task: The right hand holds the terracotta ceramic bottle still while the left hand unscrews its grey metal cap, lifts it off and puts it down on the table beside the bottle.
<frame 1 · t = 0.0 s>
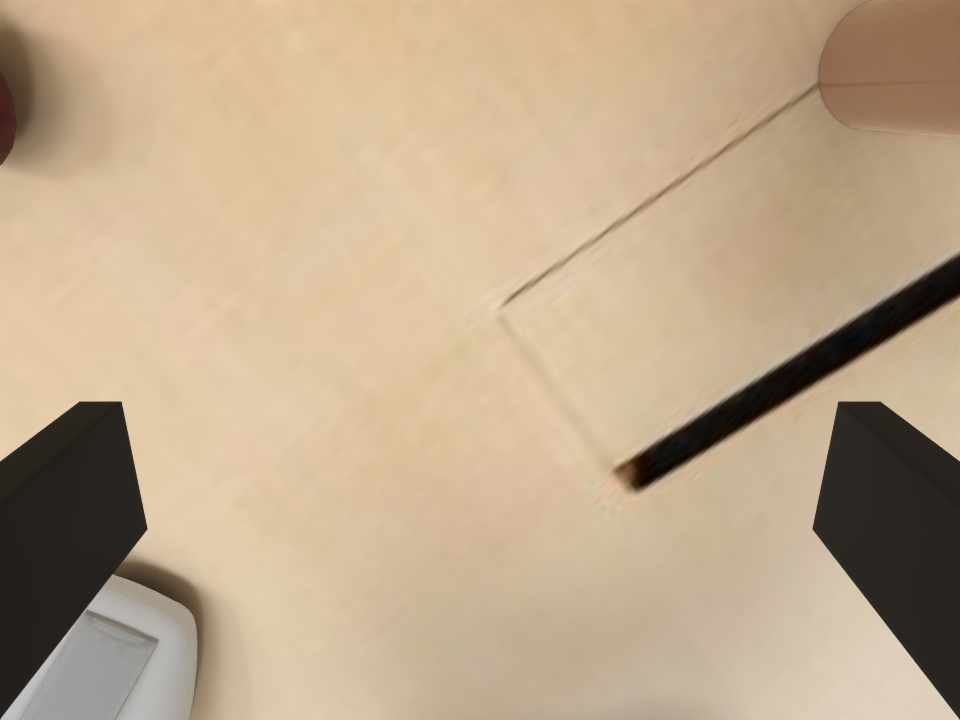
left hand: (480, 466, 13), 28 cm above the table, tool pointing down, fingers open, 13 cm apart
projector: (96, 681, 51), on the table
bottle: (880, 65, 36), on the table
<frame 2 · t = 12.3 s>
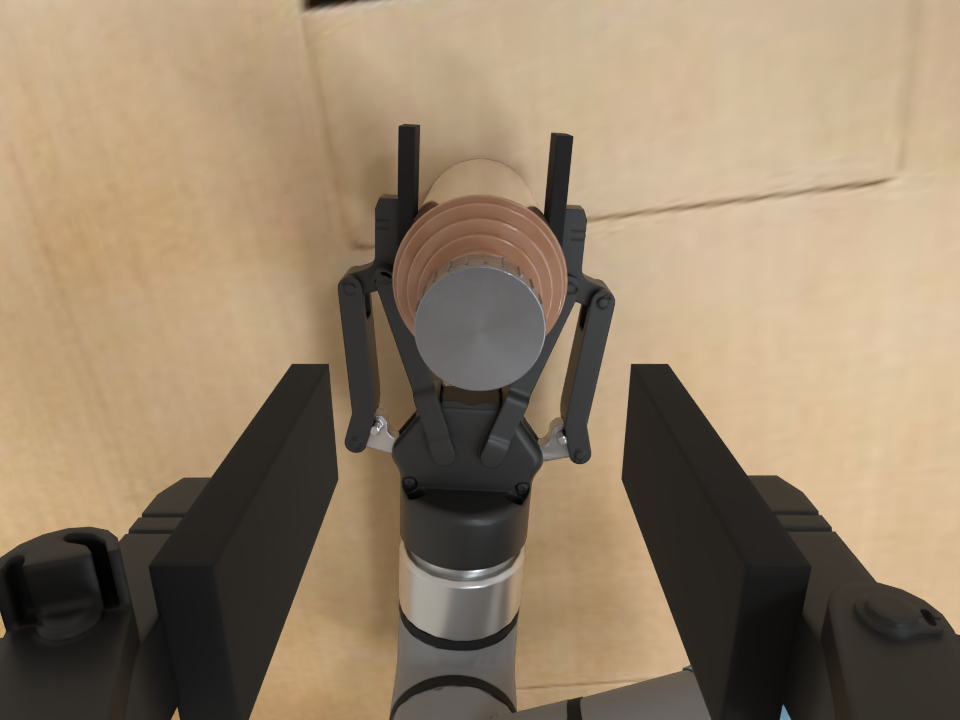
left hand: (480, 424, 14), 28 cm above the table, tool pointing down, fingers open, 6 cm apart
right hand: (485, 130, 33), fingers closed on bottle, 6 cm apart
cap: (479, 327, 21), point 21 cm above the table, screwed on, not yet turned
bottle: (479, 216, 40), on the table, touching right hand
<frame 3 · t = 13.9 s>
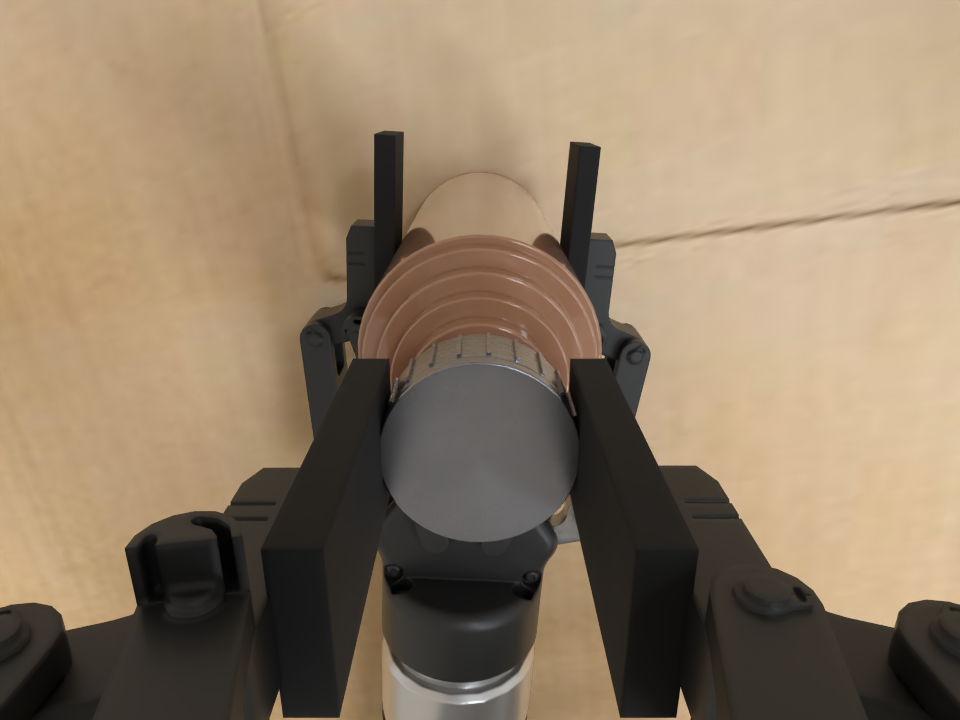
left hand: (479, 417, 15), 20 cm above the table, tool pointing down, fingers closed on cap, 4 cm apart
right hand: (487, 139, 25), fingers closed on bottle, 6 cm apart
cap: (479, 450, 13), point 21 cm above the table, screwed on, not yet turned, touching left hand
bottle: (479, 241, 33), on the table, touching right hand
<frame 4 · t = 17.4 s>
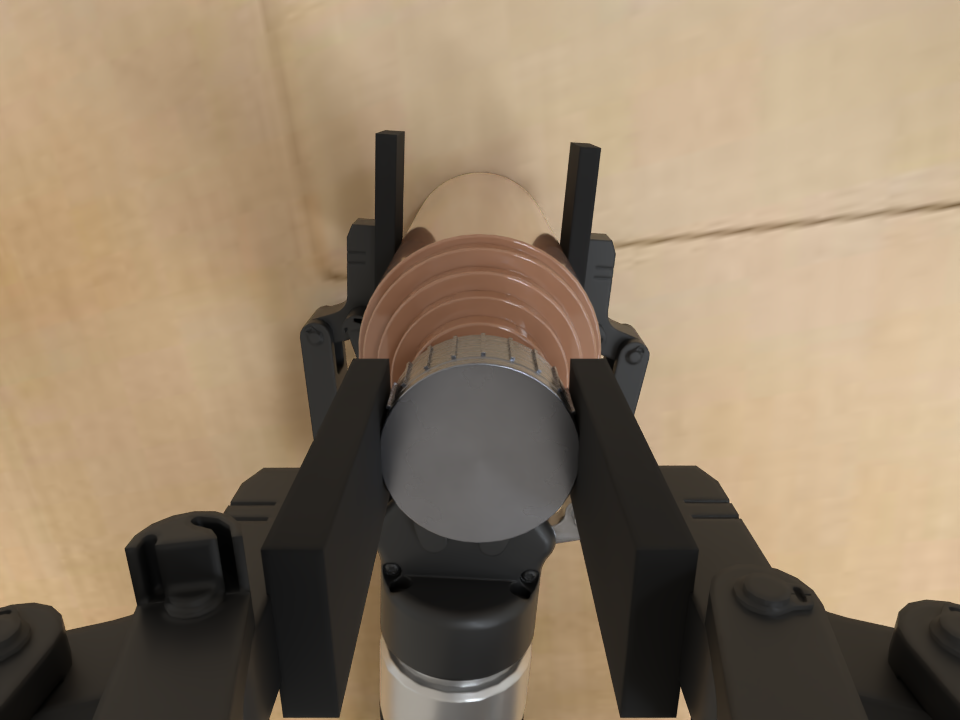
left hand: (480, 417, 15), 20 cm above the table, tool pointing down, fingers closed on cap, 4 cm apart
right hand: (488, 139, 26), fingers closed on bottle, 6 cm apart
cap: (479, 450, 13), point 21 cm above the table, turned 102° so far, risen 0.1 cm, still on its thread, touching left hand
bottle: (479, 241, 33), on the table, touching right hand
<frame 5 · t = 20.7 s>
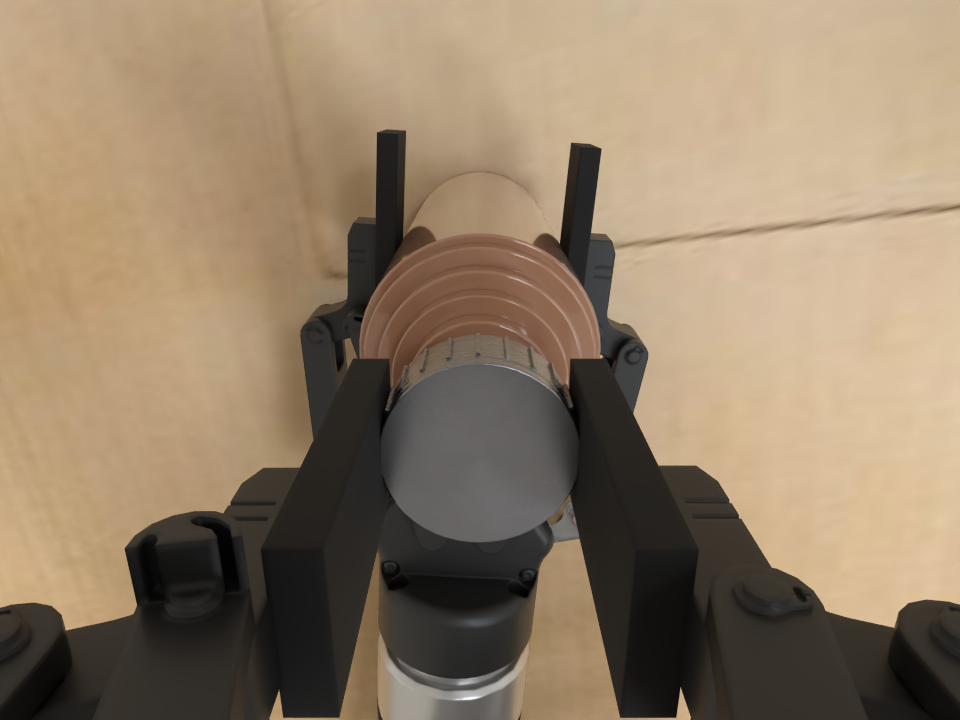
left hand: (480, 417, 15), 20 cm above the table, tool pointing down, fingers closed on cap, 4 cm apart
right hand: (489, 139, 26), fingers closed on bottle, 6 cm apart
cap: (479, 450, 13), point 21 cm above the table, turned 203° so far, risen 0.2 cm, still on its thread, touching left hand
bottle: (479, 241, 33), on the table, touching right hand
when the left hand's fingers open (1 cm above the table, at t = 33.5 s): cap drops 1 cm, point 1 cm above the table.
when the right hand's fingers open (6 cm above the table, at t = 34.7 s): bottle stays where it is, on the table.
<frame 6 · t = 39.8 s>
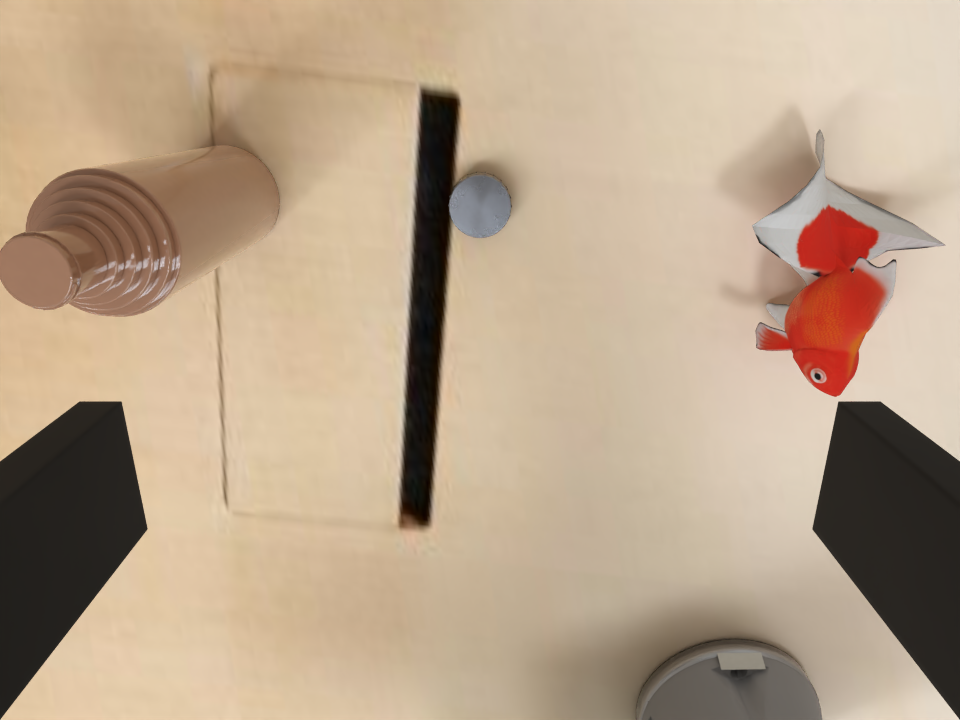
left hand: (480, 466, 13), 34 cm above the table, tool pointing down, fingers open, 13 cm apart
cap: (480, 206, 43), point 1 cm above the table, off its thread
bottle: (229, 197, 45), on the table
fish: (794, 251, 46), on the table
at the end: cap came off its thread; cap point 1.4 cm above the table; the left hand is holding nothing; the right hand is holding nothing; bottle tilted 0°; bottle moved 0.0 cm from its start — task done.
